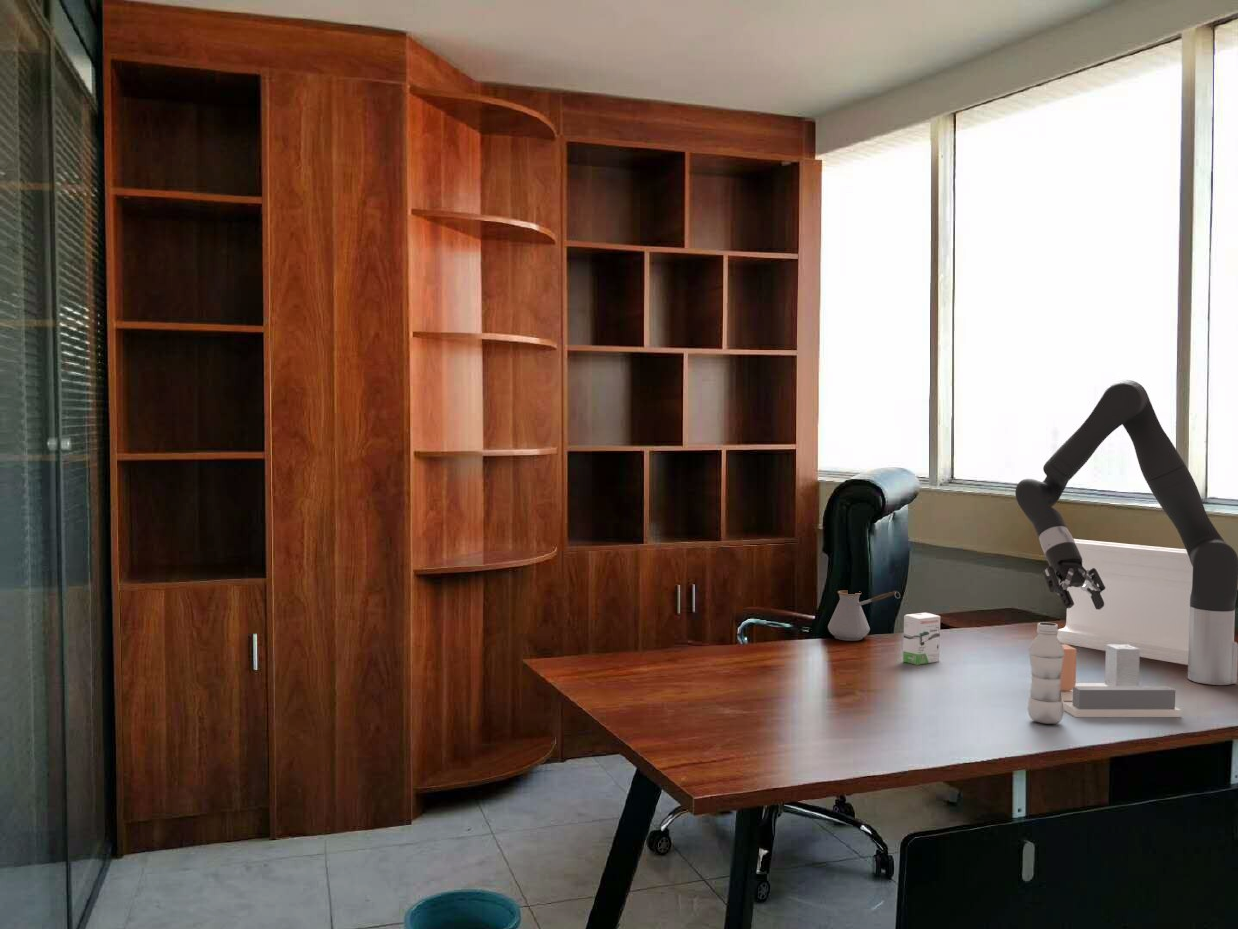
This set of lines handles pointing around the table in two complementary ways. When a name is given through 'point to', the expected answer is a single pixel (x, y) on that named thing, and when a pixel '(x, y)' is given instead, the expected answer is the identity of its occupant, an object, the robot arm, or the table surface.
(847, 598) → the coffee pot
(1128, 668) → the brushed metal pillar
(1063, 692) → the plate
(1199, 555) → the robot arm
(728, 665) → the table surface
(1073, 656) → the tall salmon pillar
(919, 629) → the ink box
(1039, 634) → the plastic bottle
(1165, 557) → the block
